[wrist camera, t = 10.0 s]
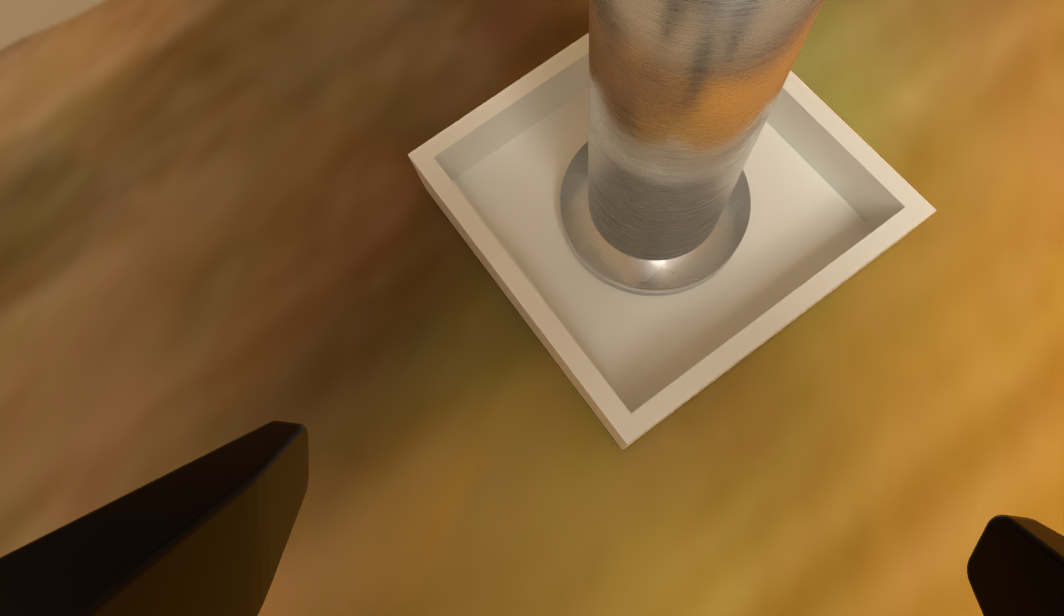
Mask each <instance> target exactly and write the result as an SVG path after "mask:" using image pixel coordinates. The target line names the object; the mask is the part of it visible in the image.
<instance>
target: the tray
mask: <svg viewBox="0 0 1064 616" xmlns="http://www.w3.org/2000/svg"><path fill="white" fill-rule="evenodd" d="M588 113H589V33H587V34H586V35H584V36H583V37H581V38H580V39H578V40H577V41H575V42H574V43H572V44H571V45H569V46H568V47H567V48H565V49H564V50H562V51H561V52H559V53H558V54H556V55H555V56H553V57H552V58H550V59H549V60H547V61H546V62H544V63H543V64H541V65H540V66H538V67H537V68H535V69H534V70H532V71H531V72H529V73H528V74H526V75H525V76H523V77H522V78H520V79H519V80H517V81H516V82H515V83H513V84H512V85H510V86H509V87H507V88H506V89H504V90H503V91H501V92H500V93H498V94H497V95H495V96H494V97H492V98H491V99H489V100H488V101H486V102H485V103H483V104H482V105H480V106H479V107H477V108H476V109H474V110H473V111H471V112H470V113H468V114H467V115H465V116H464V117H463V118H461V119H460V120H458V121H457V122H455V123H454V124H452V125H451V126H449V127H448V128H446V129H445V130H443V131H442V132H440V133H439V134H437V135H436V136H434V137H433V138H431V139H430V140H428V141H427V142H425V143H424V144H422V145H421V146H419V147H418V148H416V149H415V150H413V151H412V152H411V153H409V154H408V156H409V158H410V160H411V162H412V164H413V166H414V167H415V169H416V171H417V173H418V175H419V177H420V179H421V181H422V183H423V184H424V186H425V188H426V190H427V191H428V193H429V194H430V195H431V197H432V198H433V199H434V201H435V202H436V203H437V205H438V206H439V207H440V209H441V210H442V211H443V213H444V214H445V215H446V217H447V218H448V219H449V221H450V222H451V223H452V225H453V226H454V227H455V229H456V230H457V231H458V233H459V234H460V235H461V237H462V238H463V239H464V241H465V242H466V243H467V245H468V246H469V247H470V249H471V250H472V251H473V253H474V254H475V255H476V257H477V258H478V259H479V261H480V262H481V263H482V265H483V266H484V267H485V269H486V270H487V271H488V273H489V274H490V275H491V277H492V278H493V279H494V281H495V282H496V283H497V284H498V286H499V287H500V288H501V290H502V291H503V292H504V294H505V295H506V296H507V298H508V299H509V300H510V302H511V303H512V304H513V306H514V307H515V308H516V310H517V311H518V312H519V314H520V315H521V316H522V318H523V319H524V320H525V322H526V323H527V324H528V326H529V327H530V328H531V330H532V331H533V332H534V334H535V335H536V336H537V338H538V339H539V340H540V342H541V343H542V344H543V346H544V347H545V348H546V350H547V351H548V352H549V354H550V355H551V356H552V358H553V359H554V360H555V362H556V363H557V364H558V366H559V367H560V368H561V370H562V371H563V372H564V374H565V375H566V376H567V378H568V379H569V380H570V382H571V383H572V384H573V386H574V387H575V388H576V390H577V391H578V392H579V394H580V395H581V396H582V398H583V399H584V400H585V402H586V403H587V404H588V406H589V407H590V408H591V409H592V411H593V412H594V413H595V415H596V416H597V417H598V419H599V420H600V421H601V423H602V424H603V425H604V427H605V428H606V429H607V431H608V432H609V433H610V435H611V436H612V437H613V439H614V440H615V441H616V443H617V444H618V445H619V447H620V448H621V449H622V450H624V449H625V448H626V447H628V446H629V445H630V444H632V443H633V442H634V441H636V440H637V439H638V438H640V437H641V436H642V435H644V434H645V433H646V432H647V431H649V430H650V429H651V428H653V427H654V426H655V425H657V424H658V423H659V422H661V421H662V420H663V419H665V418H666V417H667V416H669V415H670V414H671V413H673V412H674V411H675V410H676V409H678V408H679V407H680V406H682V405H683V404H684V403H686V402H687V401H688V400H690V399H691V398H692V397H694V396H695V395H696V394H698V393H699V392H700V391H702V390H703V389H704V388H705V387H707V386H708V385H709V384H711V383H712V382H713V381H715V380H716V379H717V378H719V377H720V376H721V375H723V374H724V373H725V372H727V371H728V370H729V369H731V368H732V367H733V366H734V365H736V364H737V363H738V362H740V361H741V360H742V359H744V358H745V357H746V356H748V355H749V354H750V353H752V352H753V351H754V350H756V349H757V348H758V347H760V346H761V345H762V344H763V343H765V342H766V341H767V340H769V339H770V338H771V337H773V336H774V335H775V334H777V333H778V332H779V331H781V330H782V329H783V328H785V327H786V326H787V325H789V324H790V323H791V322H792V321H794V320H795V319H796V318H798V317H799V316H800V315H802V314H803V313H804V312H806V311H807V310H808V309H810V308H811V307H812V306H814V305H815V304H816V303H818V302H819V301H820V300H821V299H823V298H824V297H825V296H827V295H828V294H829V293H831V292H832V291H833V290H835V289H836V288H837V287H839V286H840V285H841V284H843V283H844V282H845V281H847V280H848V279H849V278H850V277H852V276H853V275H854V274H856V273H857V272H858V271H860V270H861V269H862V268H864V267H865V266H866V265H868V264H869V263H870V262H872V261H873V260H874V259H876V258H877V257H878V256H879V255H881V254H882V253H883V252H885V251H886V250H887V249H889V248H890V247H891V246H893V245H894V244H895V243H897V242H898V241H899V240H900V239H902V238H903V237H904V236H905V235H907V234H908V233H909V232H910V231H912V230H913V229H914V228H915V227H916V226H918V225H919V224H920V223H921V222H923V221H924V220H925V219H926V218H928V217H929V216H930V215H931V214H933V213H934V212H935V211H936V209H935V208H933V207H932V206H931V205H930V204H929V203H928V202H927V201H926V200H925V199H924V198H923V197H922V196H921V195H920V194H919V193H918V192H917V191H916V190H915V189H914V188H913V187H912V186H911V185H909V184H908V183H907V182H906V181H905V180H904V179H903V178H902V177H901V176H900V175H899V174H898V173H897V172H896V171H895V170H894V169H893V168H892V167H891V166H890V165H889V164H888V163H887V162H886V161H884V160H883V159H882V158H881V157H880V156H879V155H878V154H877V153H876V152H875V151H874V150H873V149H872V148H871V147H870V146H869V145H868V144H867V143H866V142H865V141H864V140H863V139H862V138H860V137H859V136H858V135H857V134H856V133H855V132H854V131H853V130H852V129H851V128H850V127H849V126H848V125H847V124H846V123H845V122H844V121H843V120H842V119H841V118H840V117H839V116H838V115H837V114H835V113H834V112H833V111H832V110H831V109H830V108H829V107H828V106H827V105H826V104H825V103H824V102H823V101H822V100H821V99H820V98H819V97H818V96H817V95H816V94H815V93H814V92H813V91H811V90H810V89H809V88H808V87H807V86H806V85H805V84H804V83H803V82H802V81H801V80H800V79H799V78H798V77H797V76H796V75H795V74H794V73H793V72H792V71H791V70H790V72H789V74H788V76H787V78H786V81H785V83H784V85H783V87H782V89H781V91H780V93H779V95H778V97H777V99H776V101H775V103H774V106H773V108H772V110H771V112H770V114H769V116H768V118H767V120H766V122H765V124H764V126H763V128H762V131H761V133H760V135H759V137H758V139H757V141H756V143H755V145H754V147H753V149H752V151H751V153H750V155H749V158H748V160H747V162H746V164H745V166H744V168H743V171H744V173H745V175H746V178H747V181H748V185H749V190H750V196H751V211H750V217H749V222H748V226H747V229H746V232H745V234H744V236H743V238H742V241H741V243H740V244H739V246H738V247H737V249H736V251H735V252H734V254H733V255H732V257H731V258H730V260H729V261H728V262H727V264H726V265H725V266H724V267H723V268H722V269H721V270H720V271H719V272H718V273H717V274H716V275H714V276H713V277H712V278H711V279H709V280H707V281H706V282H704V283H703V284H701V285H699V286H697V287H695V288H693V289H690V290H687V291H684V292H681V293H677V294H672V295H666V296H643V295H637V294H631V293H627V292H624V291H621V290H618V289H616V288H614V287H611V286H609V285H607V284H605V283H604V282H602V281H601V280H599V279H597V278H596V277H595V276H593V275H592V274H591V273H590V272H589V271H587V270H586V268H585V267H584V266H583V265H582V264H581V263H580V262H579V261H578V259H577V258H576V256H575V255H574V254H573V252H572V250H571V248H570V246H569V244H568V243H567V240H566V237H565V234H564V231H563V226H562V220H561V208H560V195H561V187H562V183H563V178H564V176H565V173H566V171H567V168H568V166H569V164H570V163H571V161H572V159H573V158H574V156H575V155H576V154H577V152H578V151H579V150H580V148H581V147H582V146H583V145H584V144H585V143H586V142H587V141H588Z"/></svg>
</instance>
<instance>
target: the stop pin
mask: <svg viewBox="0 0 1064 616" xmlns="http://www.w3.org/2000/svg"><path fill="white" fill-rule="evenodd" d="M823 1H824V0H589V113H588V141H587V142H586V143H585V144H584V145H583V146H582V147H581V148H580V150H579V151H578V152H577V154H576V155H575V156H574V158H573V159H572V161H571V163H570V164H569V166H568V168H567V171H566V173H565V176H564V178H563V183H562V187H561V195H560V208H561V220H562V226H563V231H564V234H565V237H566V240H567V243H568V244H569V246H570V248H571V250H572V252H573V254H574V255H575V256H576V258H577V259H578V261H579V262H580V263H581V264H582V265H583V266H584V267H585V268H586V270H587V271H589V272H590V273H591V274H592V275H593V276H595V277H596V278H597V279H599V280H601V281H602V282H604V283H605V284H607V285H609V286H611V287H614V288H616V289H618V290H621V291H624V292H627V293H631V294H637V295H643V296H666V295H672V294H677V293H681V292H684V291H687V290H690V289H693V288H695V287H697V286H699V285H701V284H703V283H704V282H706V281H707V280H709V279H711V278H712V277H713V276H714V275H716V274H717V273H718V272H719V271H720V270H721V269H722V268H723V267H724V266H725V265H726V264H727V262H728V261H729V260H730V258H731V257H732V255H733V254H734V252H735V251H736V249H737V247H738V246H739V244H740V243H741V241H742V238H743V236H744V234H745V232H746V229H747V226H748V222H749V217H750V211H751V196H750V190H749V185H748V181H747V178H746V175H745V173H744V171H743V168H744V166H745V164H746V162H747V160H748V158H749V155H750V153H751V151H752V149H753V147H754V145H755V143H756V141H757V139H758V137H759V135H760V133H761V131H762V128H763V126H764V124H765V122H766V120H767V118H768V116H769V114H770V112H771V110H772V108H773V106H774V103H775V101H776V99H777V97H778V95H779V93H780V91H781V89H782V87H783V85H784V83H785V81H786V78H787V76H788V74H789V72H790V70H791V68H792V66H793V64H794V62H795V60H796V58H797V56H798V54H799V51H800V49H801V47H802V45H803V43H804V41H805V39H806V37H807V35H808V33H809V31H810V29H811V26H812V24H813V22H814V20H815V18H816V16H817V14H818V12H819V10H820V8H821V6H822V4H823Z"/></svg>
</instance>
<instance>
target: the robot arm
mask: <svg viewBox="0 0 1064 616" xmlns="http://www.w3.org/2000/svg"><path fill="white" fill-rule="evenodd" d="M308 478H309V464H308V432H307V429H306V427H305V426H304V425H303V424H298V423H290V422H283V421H272V422H270V423H268V424H266V425H264V426H262V427H260V428H258V429H256V430H254V431H252V432H250V433H248V434H246V435H244V436H242V437H240V438H238V439H236V440H234V441H232V442H230V443H228V444H226V445H224V446H222V447H220V448H218V449H216V450H214V451H212V452H210V453H208V454H206V455H204V456H202V457H200V458H198V459H196V460H194V461H192V462H190V463H188V464H186V465H184V466H182V467H180V468H178V469H176V470H174V471H172V472H170V473H168V474H166V475H164V476H162V477H160V478H158V479H156V480H154V481H152V482H150V483H148V484H146V485H144V486H142V487H140V488H138V489H136V490H134V491H132V492H130V493H128V494H126V495H124V496H122V497H120V498H118V499H116V500H114V501H112V502H110V503H108V504H106V505H104V506H102V507H100V508H98V509H96V510H94V511H92V512H90V513H88V514H86V515H84V516H82V517H80V518H78V519H76V520H75V521H73V522H71V523H69V524H67V525H65V526H63V527H61V528H59V529H57V530H55V531H53V532H51V533H49V534H47V535H45V536H43V537H41V538H39V539H37V540H35V541H33V542H31V543H29V544H27V545H25V546H23V547H21V548H19V549H17V550H15V551H13V552H11V553H9V554H7V555H5V556H3V557H1V558H0V616H257V615H258V613H259V611H260V609H261V607H262V605H263V603H264V600H265V598H266V595H267V593H268V590H269V588H270V586H271V583H272V580H273V578H274V575H275V573H276V570H277V567H278V565H279V562H280V559H281V557H282V554H283V552H284V549H285V546H286V544H287V541H288V539H289V536H290V533H291V531H292V528H293V525H294V523H295V520H296V518H297V515H298V512H299V510H300V507H301V505H302V502H303V499H304V497H305V494H306V490H307V485H308ZM967 574H968V579H969V582H970V585H971V587H972V589H973V592H974V594H975V596H976V599H977V601H978V603H979V606H980V608H981V610H982V613H983V615H984V616H1064V536H1063V535H1061V534H1059V533H1057V532H1055V531H1054V530H1052V529H1050V528H1048V527H1046V526H1045V525H1043V524H1041V523H1039V522H1037V521H1035V520H1033V519H1030V518H1025V517H1017V516H1009V515H997V516H995V517H993V518H992V519H991V520H990V521H989V522H988V524H987V526H986V527H985V529H984V531H983V533H982V535H981V537H980V539H979V541H978V543H977V545H976V547H975V549H974V550H973V552H972V554H971V556H970V558H969V561H968V565H967Z"/></svg>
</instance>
